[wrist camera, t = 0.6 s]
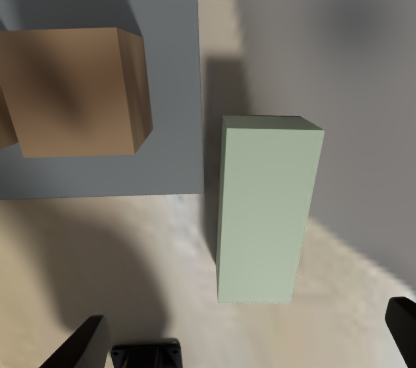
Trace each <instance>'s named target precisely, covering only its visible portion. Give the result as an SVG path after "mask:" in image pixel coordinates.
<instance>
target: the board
mask: <svg viewBox="0 0 416 368" xmlns="http://www.w3.org/2000/svg"><path fill="white" fill-rule="evenodd" d="M114 27H117V28H119V29H122V30H124V31H127V32H129V33H132V34H135V35H137V36H140V37H142V38H143V39H144V48H145V57H146V66H147V75H148V84H149V94H150V103H151V112H152V121H153V131H152V132H151V133H150V135H149V136H148V137H147V139H146V140H145V141H144V143H143V144H142V145H141V147H140V148H139V149H138V151H137V152H136V153H135V154H134V155H101V156H68V157H35V158H24V157H23V154H22V151H21V147H20V144H19V142H18V143H16V144H13V145H11V146H9V147H6V148H4V149H2V150H0V200H2V199H35V198H68V197H101V196H134V195H167V194H200V193H204V165H203V138H202V110H201V83H200V56H199V28H198V1H197V0H0V31H16V30H48V29H81V28H114Z"/></svg>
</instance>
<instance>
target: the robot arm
mask: <svg viewBox="0 0 416 368" xmlns="http://www.w3.org/2000/svg"><path fill="white" fill-rule="evenodd" d="M385 321H386V324H387V326H388V328H389V330H390V332H391V334H392V336H393V338H394V341H395V343H396V345H397V347H398V349H399V351H400V353H401V355H402V357H403V359H404V361H405V363H406V365H407V367H408V368H416V303H415V302H413V301H412V300H410V299H408V298H406V297H392V298H390V299H389V302H388V306H387V310H386V314H385ZM109 343H110V331H109V327H108V324H107V320H106V317H105V316H104V315H93V316H90V317H89V318H88V319H87V320H86V321H85V322H84V323H83V324H82V325H81V326H80V327H79V328H78V329H77V330H76V331H75V332H74V333H73V334H72V335H71V336H70V337H69V338H68V339H67V340H66V341H65V342H64V343H63V344H62V345H61V346H60V347H59V348H58V349H57V350H56V351H55V352H54V353H53V354H52V355H51V356H50V357H49V358H48V359H47V360H46V361H45V362H44V363H43V364H42V365H41V366H40V367H39V368H104V367H105V362H106V357H107V352H108V348H109ZM111 358H112V361H113V365H114V368H183V363H182V354H181V347H180V345H178V344H164V345H131V346H114V347H112V349H111Z"/></svg>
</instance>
